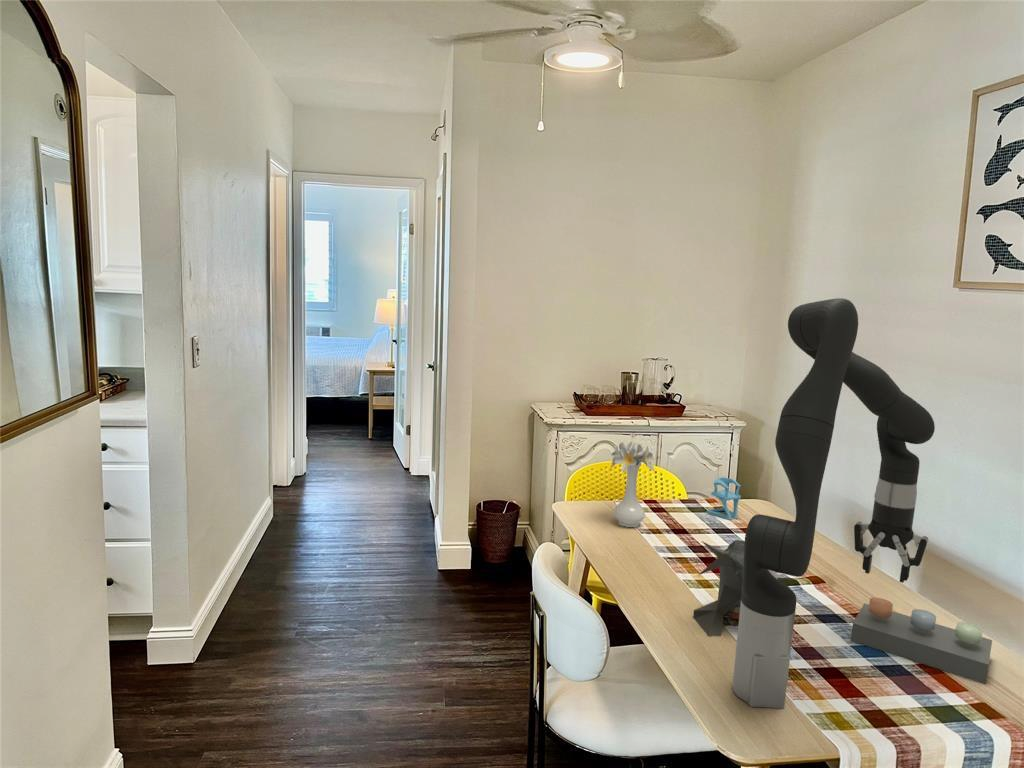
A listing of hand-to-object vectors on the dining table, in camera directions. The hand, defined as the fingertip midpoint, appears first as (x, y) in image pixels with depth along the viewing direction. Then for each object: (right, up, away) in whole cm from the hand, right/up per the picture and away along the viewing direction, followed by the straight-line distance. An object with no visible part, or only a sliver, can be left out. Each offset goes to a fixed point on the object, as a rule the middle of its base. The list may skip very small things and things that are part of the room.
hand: (884, 576), depth 149 cm
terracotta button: (0, -8, +1) cm, 8 cm away
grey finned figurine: (-31, -12, +7) cm, 34 cm away
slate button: (+6, -9, -3) cm, 12 cm away
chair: (-11, -1, +75) cm, 76 cm away
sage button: (+12, -10, -8) cm, 18 cm away
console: (+6, -15, -3) cm, 16 cm away
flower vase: (-44, -2, +64) cm, 78 cm away
